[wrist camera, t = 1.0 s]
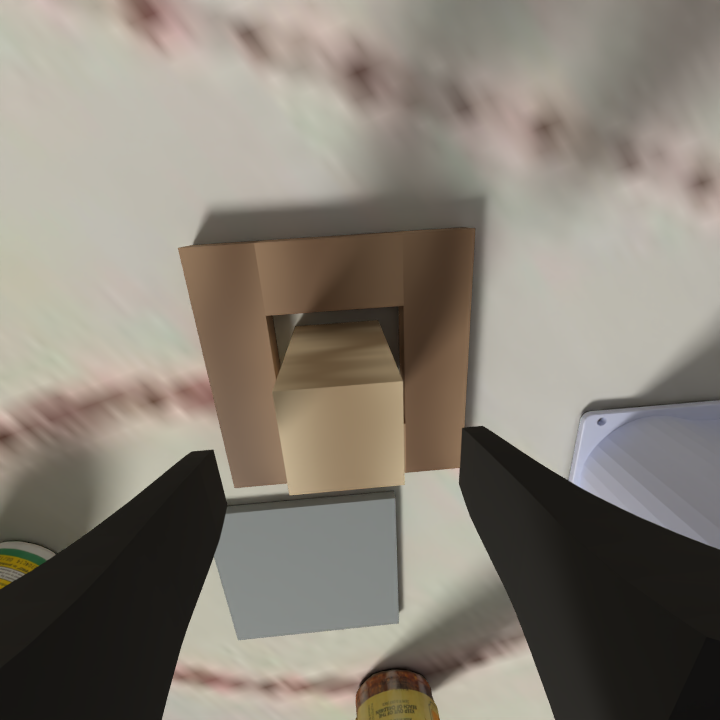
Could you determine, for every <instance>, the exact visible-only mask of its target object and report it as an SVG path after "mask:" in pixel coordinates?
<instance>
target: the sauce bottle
mask: <svg viewBox="0 0 720 720" xmlns="http://www.w3.org/2000/svg"><path fill="white" fill-rule="evenodd" d="M356 712H357V718H356V720H440V718H439V714H438V709H437V706H436V704H435V703H434V700H433V697H432V693H431V688H430V686H429V684H428V682H427V681H426V679H425V678H424V677H423V676H422V675H421V674H416V673H414V672H411V671H409V670H399V669H397V670H388V671H381V672H378V673H375V674H373V675H372V676H371V677H370V678H368V679H367V680H366V681H365V682H364V683H363V684H362V685H361V687H360V688H359V689H358V691H357V694H356Z"/></svg>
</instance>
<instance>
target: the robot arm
mask: <svg viewBox="0 0 720 720" xmlns="http://www.w3.org/2000/svg"><path fill="white" fill-rule="evenodd" d="M600 418H601V420H600V421H598V420H599V419H600ZM597 421H598V422H597ZM459 485H460V488H461V491H462V494H463V497H464V501H465V503H466V506H467V509H468V512H469V515H470V517H471V519H472V521H473V523H474V526H475V528H476V530H477V532H478V534H479V536H480V538H481V540H482V542H483V544H484V546H485V548H486V550H487V552H488V554H489V556H490V559H491V561H492V563H493V565H494V567H495V569H496V571H497V573H498V575H499V577H500V579H501V581H502V583H503V585H504V587H505V589H506V591H507V593H508V596H509V598H510V600H511V602H512V605H513V607H514V609H515V612H516V614H517V617H518V619H519V622H520V625H521V627H522V630H523V633H524V635H525V638H526V640H527V643H528V646H529V648H530V651H531V653H532V656H533V659H534V662H535V665H536V667H537V670H538V673H539V676H540V678H541V681H542V684H543V687H544V689H545V692H546V695H547V698H548V700H549V703H550V706H551V709H552V712H553V715H554V718H555V720H720V400H716V401H704V402H693V403H681V404H669V405H658V406H646V407H634V408H623V409H611V410H599V411H590V412H586V413H585V414H584V415H583V416H582V417H581V419H580V424H579V429H578V434H577V439H576V444H575V450H574V455H573V460H572V465H571V470H570V476H569V481H568V480H566V479H565V478H563V477H561V476H560V475H558V474H556V473H555V472H553V471H551V470H550V469H548V468H546V467H545V466H543V465H542V464H540V463H538V462H537V461H535V460H534V459H532V458H531V457H529V456H528V455H526V454H525V453H523V452H521V451H520V450H518V449H517V448H515V447H514V446H513V445H511V444H510V443H508V442H507V441H505V440H504V439H502V438H501V437H499V436H498V435H496V434H495V433H493V432H492V431H490V430H488V429H487V428H485V427H483V426H477V427H465V428H462V438H461V456H460V475H459ZM226 510H227V502H226V498H225V494H224V490H223V486H222V482H221V478H220V474H219V470H218V466H217V462H216V458H215V454H214V450H204V451H193V452H191V453H189V454H188V455H186V456H185V457H184V458H182V459H181V460H180V461H179V462H177V463H176V464H175V465H174V466H172V467H171V468H170V469H169V470H168V471H166V472H165V473H164V474H163V475H161V476H160V477H159V478H158V479H157V480H155V481H154V482H153V483H152V484H150V485H149V486H148V487H147V488H146V489H144V490H143V491H142V492H141V493H139V494H138V495H137V496H136V497H134V498H133V499H132V500H131V501H129V502H128V503H127V504H126V505H124V506H123V507H122V508H120V509H119V510H118V511H116V512H115V513H114V514H112V515H111V516H110V517H108V518H107V519H106V520H104V521H103V522H102V523H100V524H99V525H98V526H96V527H95V528H94V529H93V530H91V531H90V532H88V533H87V534H86V535H84V536H83V537H81V538H80V539H78V540H77V541H76V542H74V543H73V544H71V545H70V546H68V547H67V548H65V549H64V550H62V551H61V552H59V553H58V554H56V555H55V556H53V557H52V558H50V559H49V560H47V561H46V562H44V563H43V564H41V565H39V566H38V567H36V568H35V569H33V570H32V571H30V572H28V573H27V574H25V575H23V576H22V577H20V578H18V579H16V580H15V581H13V582H11V583H10V584H8V585H6V586H5V587H3V588H1V589H0V720H162V716H163V713H164V709H165V705H166V701H167V697H168V693H169V689H170V686H171V682H172V678H173V675H174V671H175V667H176V664H177V660H178V656H179V653H180V649H181V646H182V643H183V640H184V637H185V634H186V630H187V627H188V625H189V622H190V619H191V616H192V614H193V611H194V608H195V606H196V603H197V600H198V598H199V595H200V592H201V590H202V587H203V584H204V582H205V579H206V576H207V574H208V571H209V568H210V565H211V563H212V560H213V557H214V554H215V552H216V549H217V546H218V543H219V540H220V536H221V532H222V528H223V524H224V519H225V515H226Z"/></svg>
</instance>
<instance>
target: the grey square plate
mask: <svg viewBox="0 0 720 720" xmlns="http://www.w3.org/2000/svg"><path fill="white" fill-rule="evenodd" d="M214 558H215V562H216V565H217V568H218V572H219V575H220V579H221V582H222V586H223V589H224V593H225V596H226V600H227V603H228V607H229V610H230V614H231V617H232V621H233V624H234V628H235V631H236V634H237V638H238V640H245V639H255V638H264V637H274V636H283V635H293V634H302V633H312V632H321V631H331V630H340V629H350V628H359V627H369V626H378V625H388V624H397V623H399V608H398V574H397V540H396V506H395V495H394V491H388V492H377V493H366V494H355V495H344V496H334V497H323V498H312V499H301V500H290V501H279V502H268V503H257V504H247V505H236V506H227V510H226V515H225V519H224V524H223V528H222V532H221V536H220V540H219V543H218V546H217V549H216V552H215V554H214Z"/></svg>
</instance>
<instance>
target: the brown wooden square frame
mask: <svg viewBox="0 0 720 720" xmlns="http://www.w3.org/2000/svg"><path fill="white" fill-rule="evenodd" d="M474 244H475V228H466V227H460V228H445V229H430V230H415V231H399V232H384V233H369V234H354V235H339V236H324V237H308V238H293V239H278V240H263V241H248V242H233V243H217V244H202V245H190V246H186V247H181V248H178V250H179V255H180V259H181V263H182V267H183V271H184V276H185V280H186V284H187V288H188V293H189V297H190V301H191V305H192V310H193V314H194V318H195V322H196V327H197V331H198V335H199V339H200V344H201V348H202V352H203V356H204V360H205V365H206V369H207V373H208V377H209V382H210V386H211V390H212V394H213V399H214V403H215V407H216V411H217V416H218V420H219V424H220V428H221V432H222V437H223V441H224V445H225V449H226V454H227V458H228V462H229V466H230V471H231V475H232V479H233V483H234V488H241V487H252V486H263V485H275V484H286V483H287V477H286V471H285V465H284V459H283V453H282V447H281V441H280V435H279V429H278V424H277V418H276V412H275V406H274V400H273V394H272V391H273V388H274V385H275V382H276V380H277V377H278V374H279V371H280V368H281V367H280V361H279V354H278V348H277V341H276V335H275V328H274V322H273V315H284V314H298V313H311V312H325V311H338V310H352V309H366V308H379V307H393V306H398V312H399V362H400V375H401V378H402V380H403V419H404V473H407V472H419V471H430V470H441V469H452V468H460V456H461V438H462V428H464V424H465V406H466V388H467V370H468V352H469V334H470V316H471V298H472V280H473V262H474Z"/></svg>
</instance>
